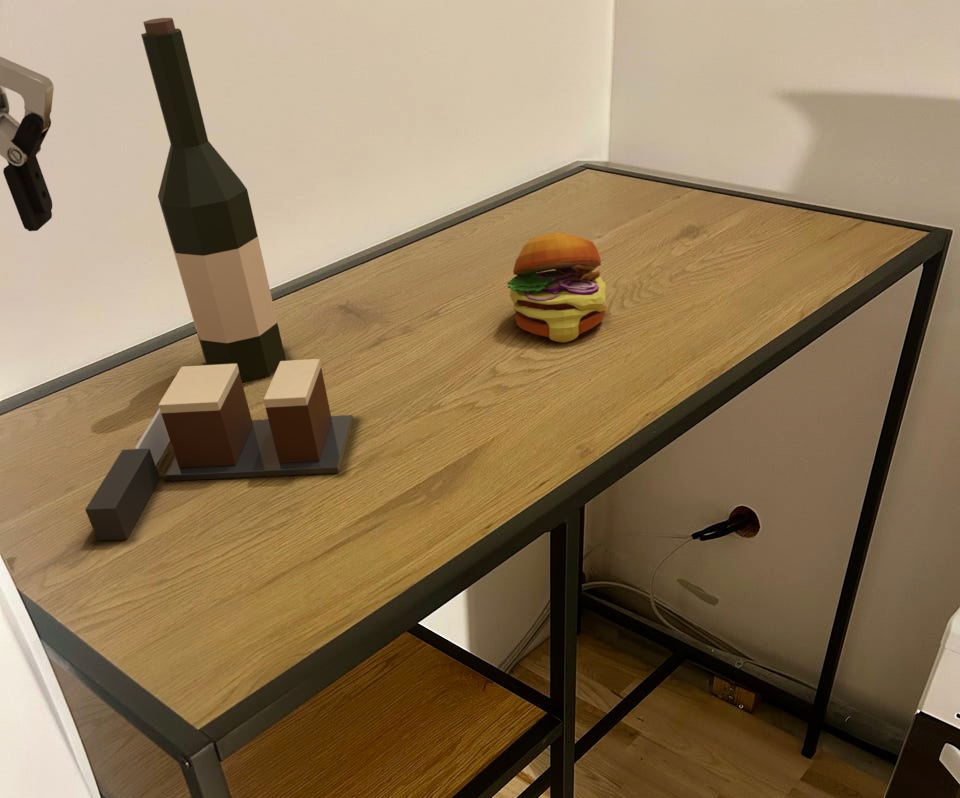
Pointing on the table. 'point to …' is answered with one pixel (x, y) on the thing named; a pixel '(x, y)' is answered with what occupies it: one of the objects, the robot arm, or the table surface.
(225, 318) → the wine bottle
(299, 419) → the cake slice
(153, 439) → the knife
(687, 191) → the table surface
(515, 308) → the cheeseburger
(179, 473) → the board
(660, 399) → the table surface
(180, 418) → the cake
